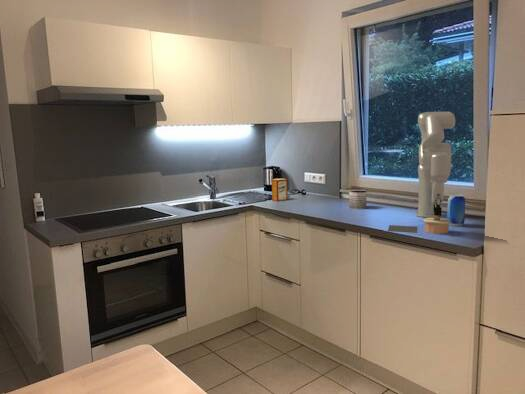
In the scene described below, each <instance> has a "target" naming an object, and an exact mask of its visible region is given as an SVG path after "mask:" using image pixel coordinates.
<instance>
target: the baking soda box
mask: <svg viewBox="0 0 525 394" xmlns="http://www.w3.org/2000/svg"><path fill="white" fill-rule="evenodd" d="M271 201H272V202H278V203H279V202H285V201H288V179H287V178H283V177H282V178H274V179H273V178H272V179H271Z"/></svg>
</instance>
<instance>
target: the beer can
mask: <svg viewBox="0 0 525 394" xmlns="http://www.w3.org/2000/svg"><path fill="white" fill-rule="evenodd" d="M446 211H447V212H446V213H447V215H446V219H449V220H450V221H451V222H450V223H449V227H450V226H451V227H462V226H463V225H465V218H466V217H465V216H466V213H465V212H466V198H465V195H464V194H458V193H452V194H450V195H449V197H448V198H447V210H446Z"/></svg>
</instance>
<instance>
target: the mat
mask: <svg viewBox="0 0 525 394" xmlns="http://www.w3.org/2000/svg"><path fill="white" fill-rule="evenodd" d="M387 232H393V233H394V232H395V233H397V232H398V233H411V234H412V233H413V234H418V226H415V225H414V226H413V225H410V226H409V225H394V224H392V225H391V224H389V225H388V229H387Z"/></svg>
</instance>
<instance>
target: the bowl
mask: <svg viewBox="0 0 525 394" xmlns="http://www.w3.org/2000/svg"><path fill="white" fill-rule="evenodd" d="M449 229H450V225H449V224H430V223H426V222H424V232H426V233H429V234H433V235H434V234H435V235H436V234H437V235H445V234H448V233H449V232H450V231H449Z"/></svg>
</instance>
